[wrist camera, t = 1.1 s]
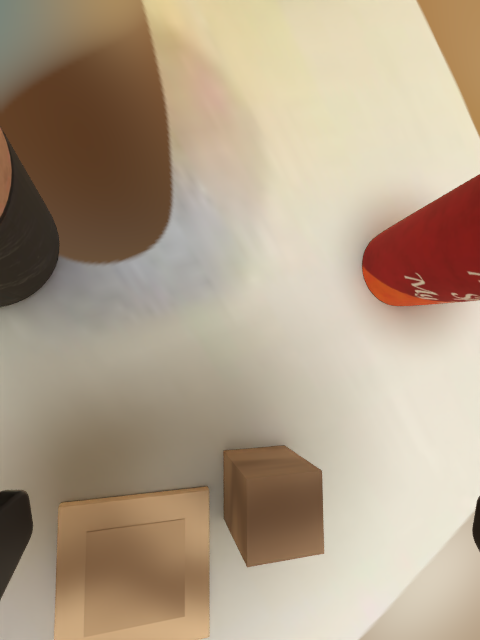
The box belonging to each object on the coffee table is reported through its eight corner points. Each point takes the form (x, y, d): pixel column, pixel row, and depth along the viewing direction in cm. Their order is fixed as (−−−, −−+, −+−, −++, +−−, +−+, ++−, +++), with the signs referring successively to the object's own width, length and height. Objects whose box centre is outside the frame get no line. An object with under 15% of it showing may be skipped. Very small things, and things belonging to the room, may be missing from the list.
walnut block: (285, 509, 22) (324, 553, 18) (223, 518, 21) (247, 567, 17) (283, 445, 23) (321, 470, 18) (223, 450, 22) (246, 479, 17)
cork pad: (207, 628, 21) (209, 638, 20) (55, 662, 18) (52, 673, 18) (207, 486, 21) (209, 490, 21) (60, 502, 19) (58, 508, 18)
